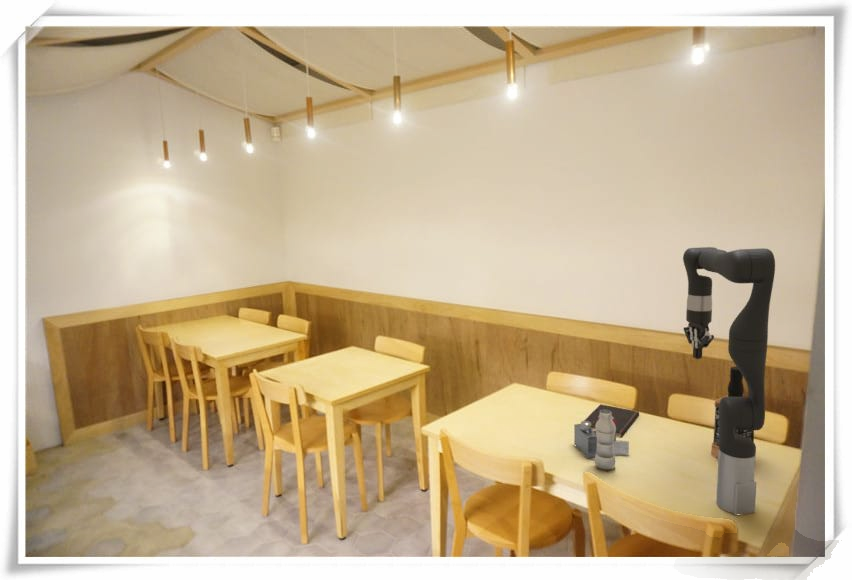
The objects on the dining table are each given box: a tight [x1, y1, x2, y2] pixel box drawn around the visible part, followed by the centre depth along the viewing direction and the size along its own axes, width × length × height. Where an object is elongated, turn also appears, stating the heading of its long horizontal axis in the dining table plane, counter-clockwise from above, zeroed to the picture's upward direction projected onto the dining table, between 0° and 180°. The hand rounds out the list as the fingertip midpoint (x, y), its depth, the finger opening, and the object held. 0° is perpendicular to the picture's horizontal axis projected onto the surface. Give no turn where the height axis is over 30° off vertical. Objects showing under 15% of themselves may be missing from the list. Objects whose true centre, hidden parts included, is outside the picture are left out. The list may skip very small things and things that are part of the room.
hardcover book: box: [583, 403, 640, 438], centre depth 220 cm, size 16×23×2 cm
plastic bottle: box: [594, 410, 616, 471], centre depth 184 cm, size 6×7×20 cm
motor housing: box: [573, 420, 630, 460], centre depth 198 cm, size 15×14×11 cm
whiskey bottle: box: [710, 366, 755, 459], centre depth 185 cm, size 10×10×32 cm
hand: (697, 358), depth 185 cm, fingers closed
